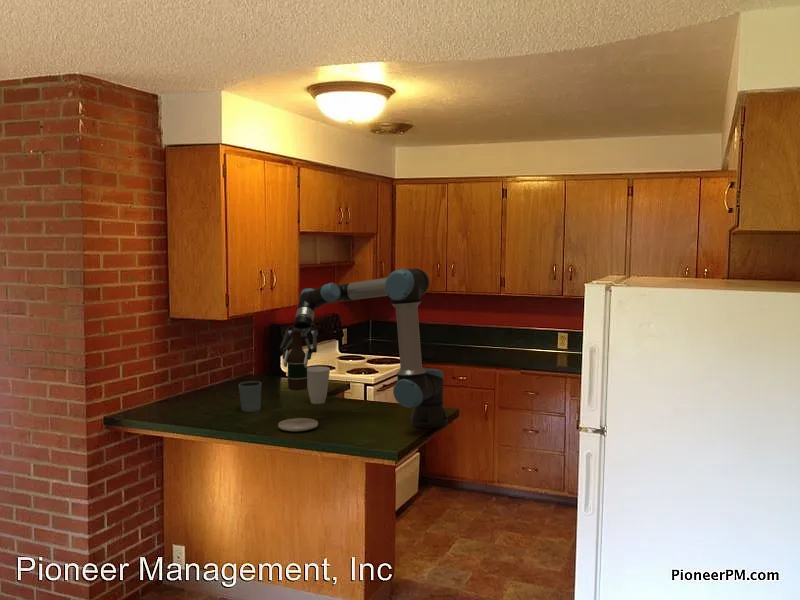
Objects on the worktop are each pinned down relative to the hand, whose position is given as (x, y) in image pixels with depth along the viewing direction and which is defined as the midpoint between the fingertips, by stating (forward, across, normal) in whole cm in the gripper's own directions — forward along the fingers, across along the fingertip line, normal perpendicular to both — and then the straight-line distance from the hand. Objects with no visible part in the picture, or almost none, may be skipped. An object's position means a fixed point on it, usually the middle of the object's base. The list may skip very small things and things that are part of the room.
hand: (295, 365), depth 275 cm
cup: (-15, +2, -53) cm, 55 cm away
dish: (+16, 0, -21) cm, 27 cm away
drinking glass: (-4, +29, -41) cm, 51 cm away
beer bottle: (+5, 0, -10) cm, 11 cm away
